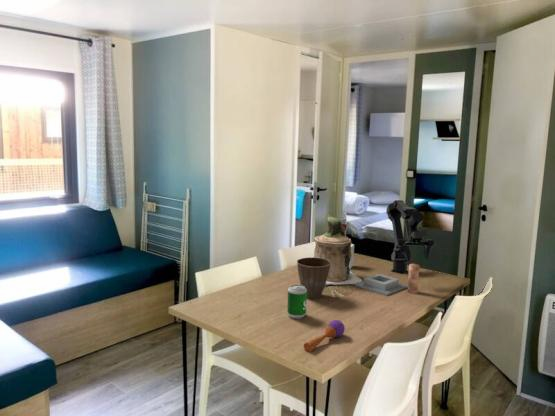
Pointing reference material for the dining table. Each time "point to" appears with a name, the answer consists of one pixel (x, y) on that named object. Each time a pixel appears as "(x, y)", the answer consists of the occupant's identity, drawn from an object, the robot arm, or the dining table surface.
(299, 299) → the soda can
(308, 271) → the plant pot
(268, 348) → the dining table surface
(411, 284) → the peg
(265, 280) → the dining table surface
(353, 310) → the dining table surface
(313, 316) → the dining table surface
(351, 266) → the supplement box
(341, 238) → the cookie jar
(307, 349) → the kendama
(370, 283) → the socket block
